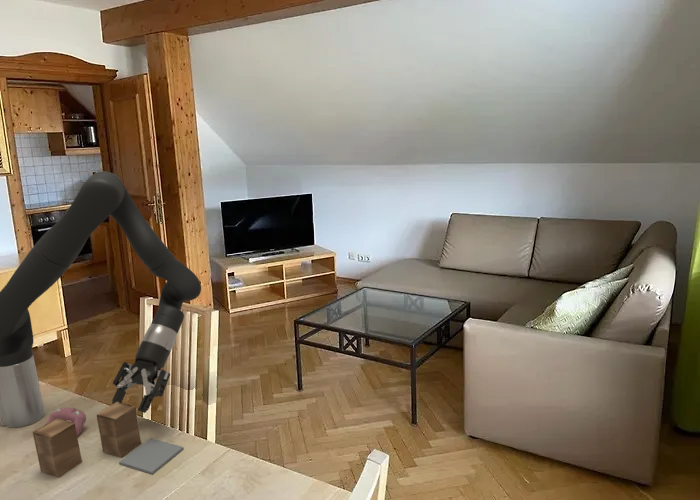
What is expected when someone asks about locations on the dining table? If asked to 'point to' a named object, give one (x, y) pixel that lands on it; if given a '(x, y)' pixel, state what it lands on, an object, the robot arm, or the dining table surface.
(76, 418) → the video game controller
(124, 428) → the brown rectangular block
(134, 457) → the slate mat
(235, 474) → the dining table surface
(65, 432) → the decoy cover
